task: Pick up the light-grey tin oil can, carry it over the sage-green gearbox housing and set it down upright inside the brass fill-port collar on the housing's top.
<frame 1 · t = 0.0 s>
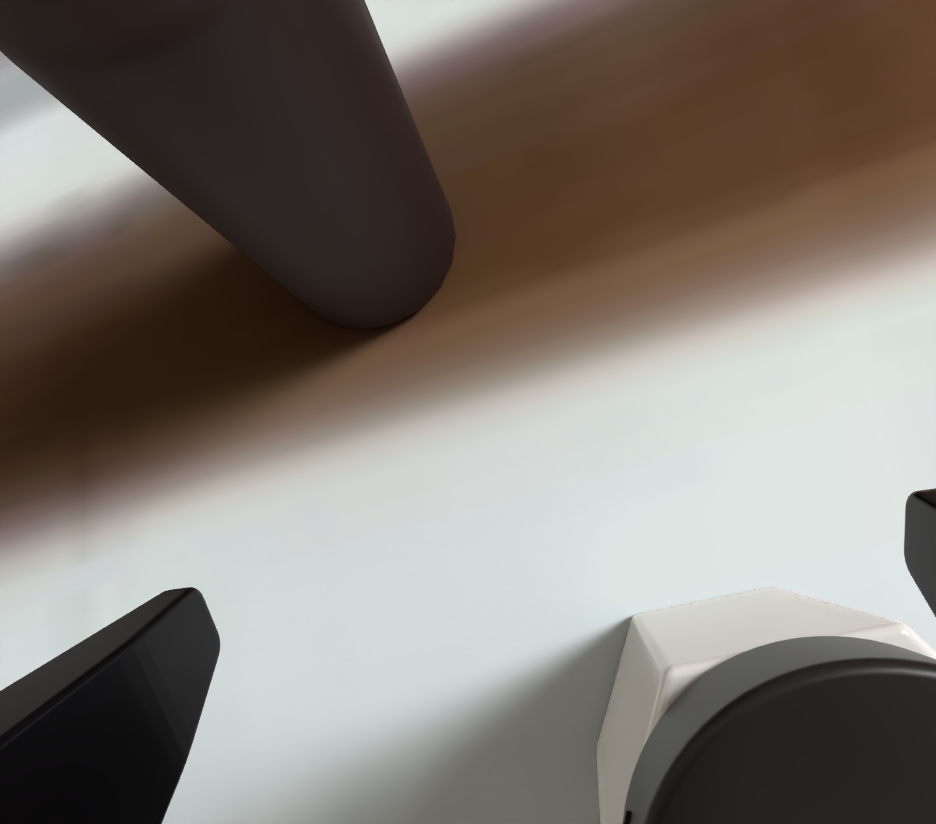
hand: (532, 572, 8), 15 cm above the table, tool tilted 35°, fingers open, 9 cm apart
jar: (734, 722, 21), on the table
bottle: (374, 251, 26), on the table
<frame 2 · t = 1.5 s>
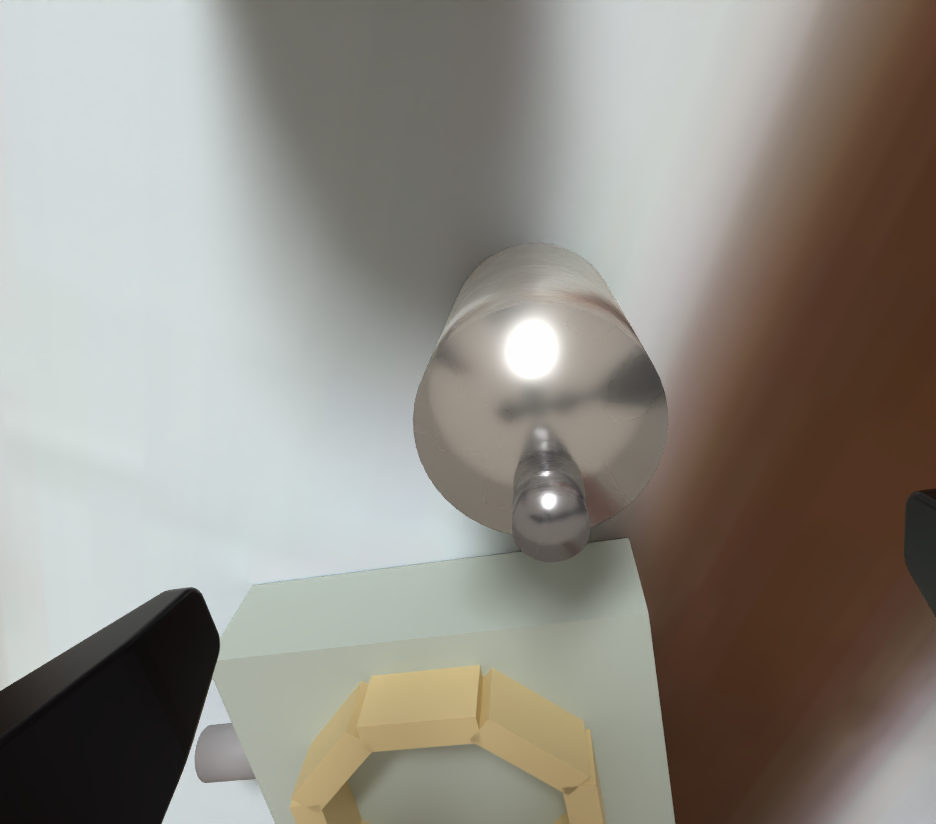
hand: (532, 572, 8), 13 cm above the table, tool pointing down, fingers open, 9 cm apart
gearbox: (465, 689, 26), on the table
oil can: (533, 325, 21), on the table
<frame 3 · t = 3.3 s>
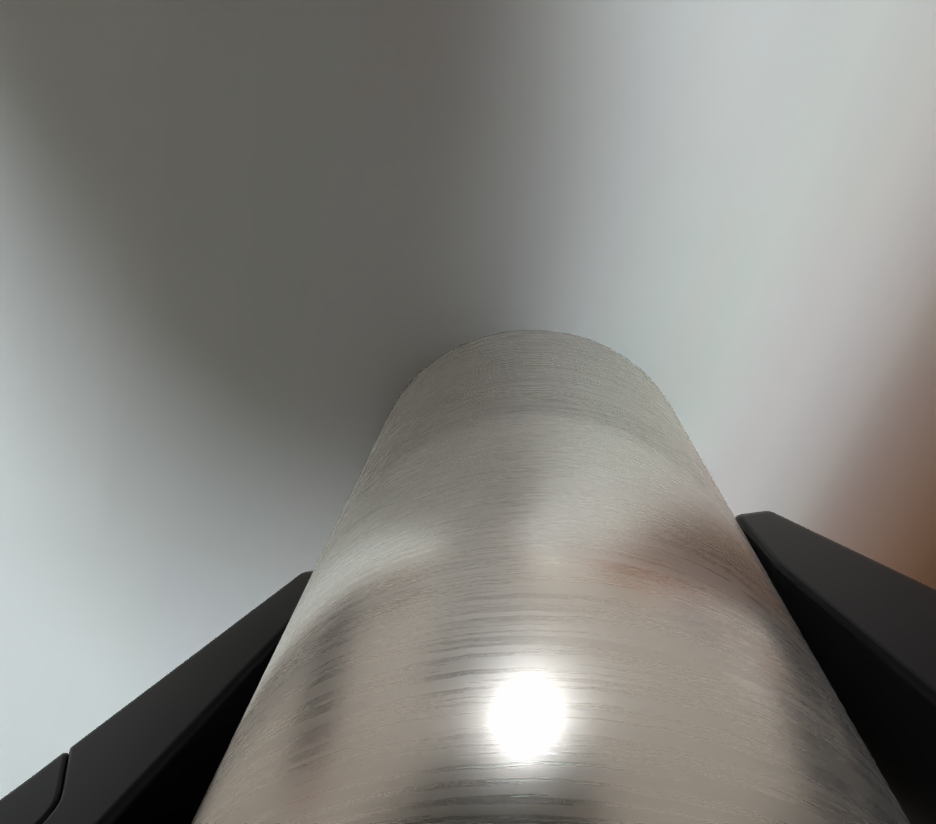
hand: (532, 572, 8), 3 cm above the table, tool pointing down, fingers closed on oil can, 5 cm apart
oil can: (529, 479, 11), on the table, touching gripper
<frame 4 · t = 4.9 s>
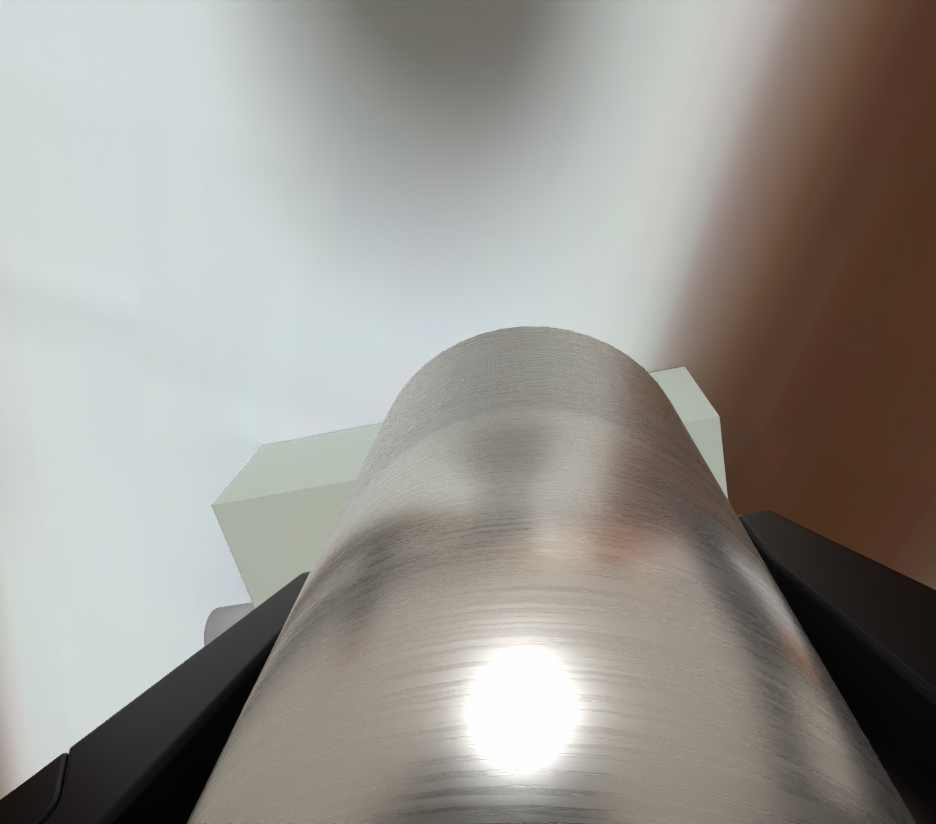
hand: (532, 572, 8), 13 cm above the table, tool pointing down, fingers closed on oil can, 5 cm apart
gearbox: (501, 562, 24), on the table
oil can: (529, 476, 11), point 10 cm above the table, touching gripper
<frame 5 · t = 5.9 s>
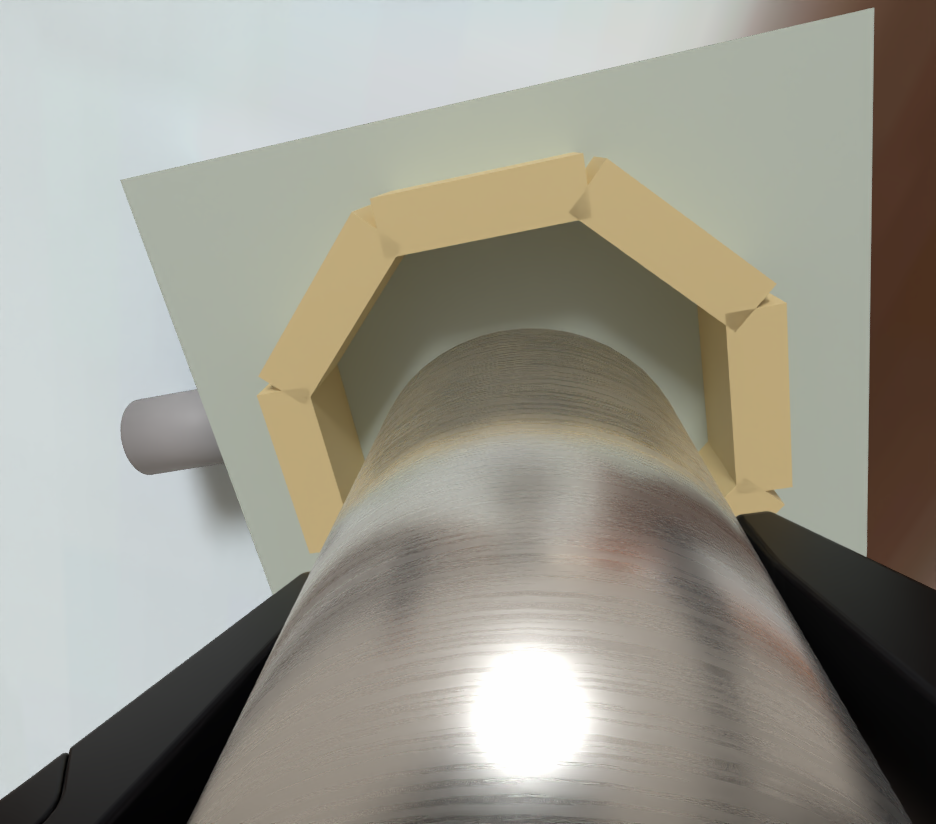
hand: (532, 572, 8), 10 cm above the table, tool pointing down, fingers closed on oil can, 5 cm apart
gearbox: (522, 349, 18), on the table
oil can: (529, 478, 11), point 8 cm above the table, touching gripper
when the fingers open (7 cm above the table, at t = 6.7 s): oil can stays where it is, resting on gearbox.
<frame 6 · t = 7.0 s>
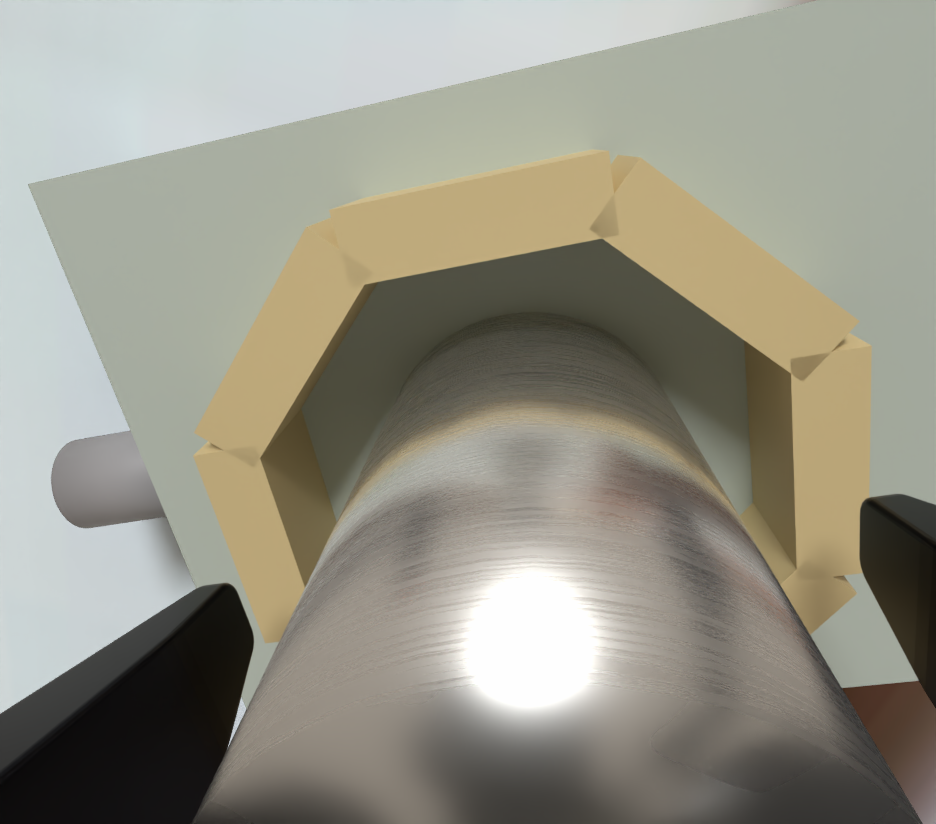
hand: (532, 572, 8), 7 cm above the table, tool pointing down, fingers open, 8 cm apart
gearbox: (525, 380, 15), on the table
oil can: (529, 452, 12), point 4 cm above the table, touching gearbox
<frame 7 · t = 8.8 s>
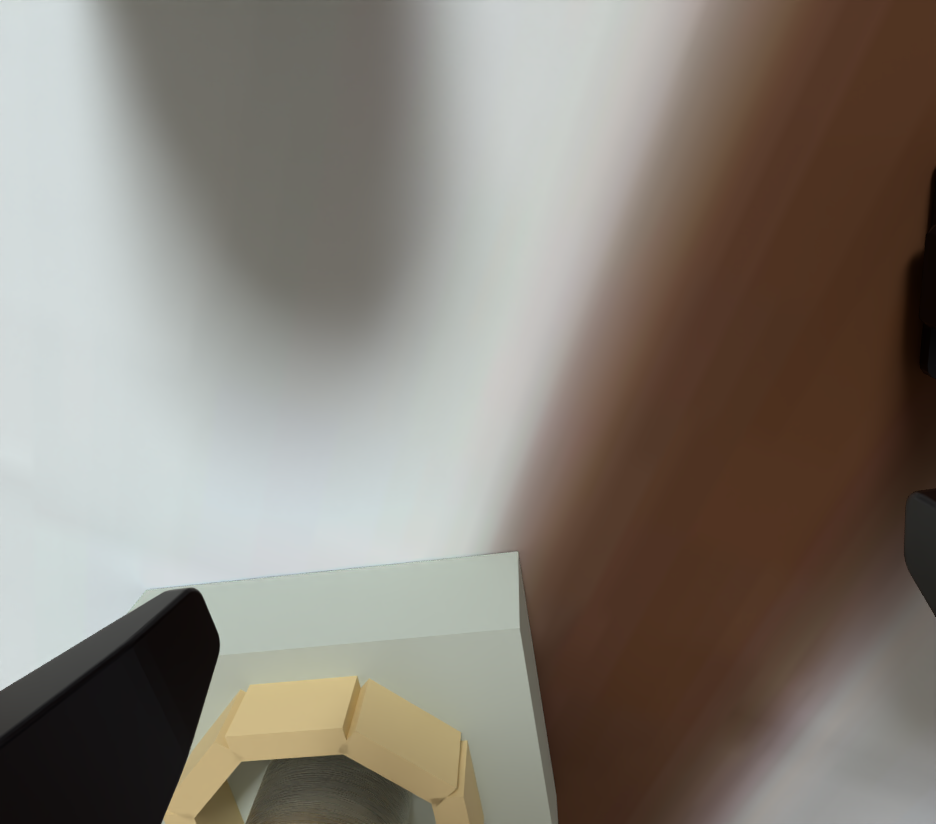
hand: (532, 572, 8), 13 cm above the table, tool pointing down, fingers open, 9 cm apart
gearbox: (362, 698, 26), on the table
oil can: (338, 787, 23), point 4 cm above the table, touching gearbox
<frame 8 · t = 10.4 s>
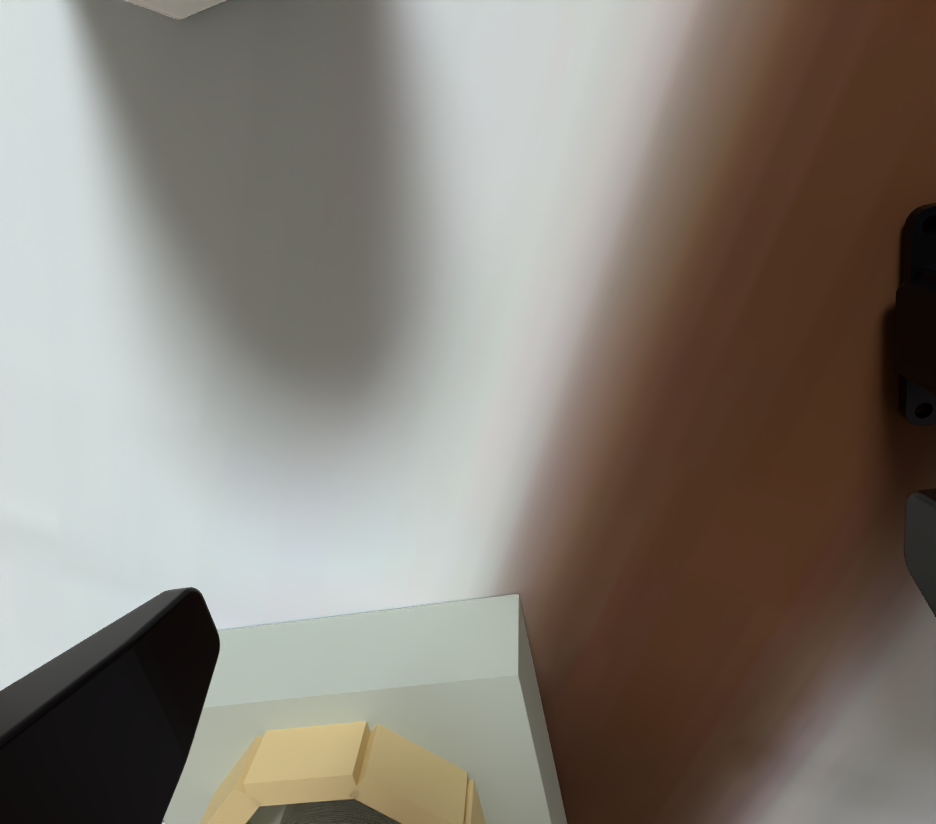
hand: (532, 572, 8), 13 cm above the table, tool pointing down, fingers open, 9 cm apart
gearbox: (375, 733, 27), on the table
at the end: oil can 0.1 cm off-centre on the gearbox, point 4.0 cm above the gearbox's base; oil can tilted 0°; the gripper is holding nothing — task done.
